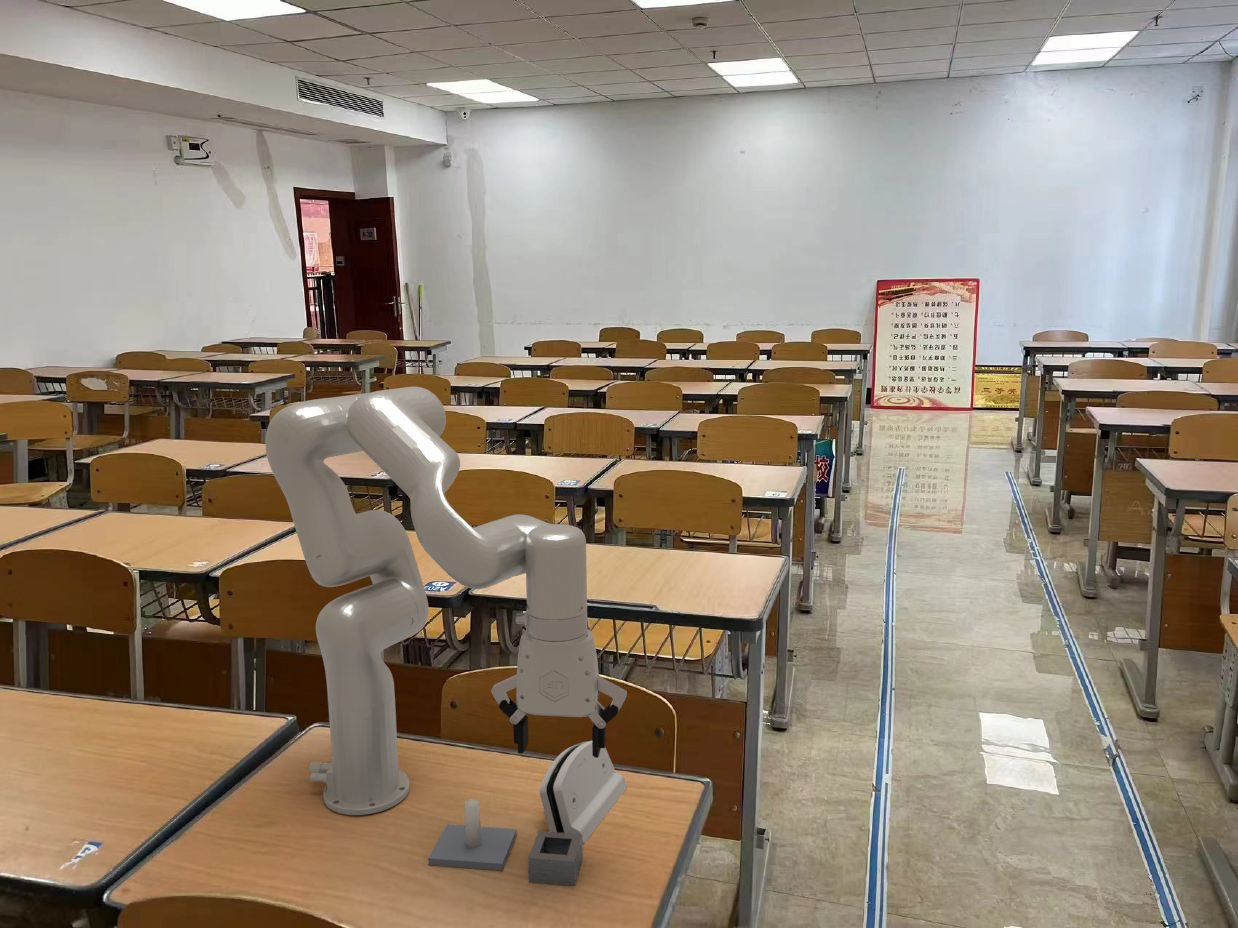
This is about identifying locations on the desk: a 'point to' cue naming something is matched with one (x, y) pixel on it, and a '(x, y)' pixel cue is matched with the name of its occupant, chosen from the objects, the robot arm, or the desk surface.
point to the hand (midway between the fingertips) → (560, 750)
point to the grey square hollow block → (555, 858)
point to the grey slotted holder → (580, 790)
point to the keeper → (473, 843)
